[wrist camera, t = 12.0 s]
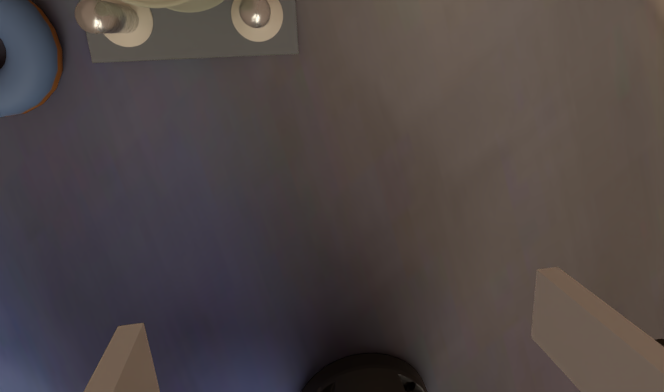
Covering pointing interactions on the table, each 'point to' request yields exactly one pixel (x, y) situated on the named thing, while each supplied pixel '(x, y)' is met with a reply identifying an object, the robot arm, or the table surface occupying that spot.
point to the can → (176, 4)
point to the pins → (125, 20)
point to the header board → (198, 34)
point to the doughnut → (27, 57)
